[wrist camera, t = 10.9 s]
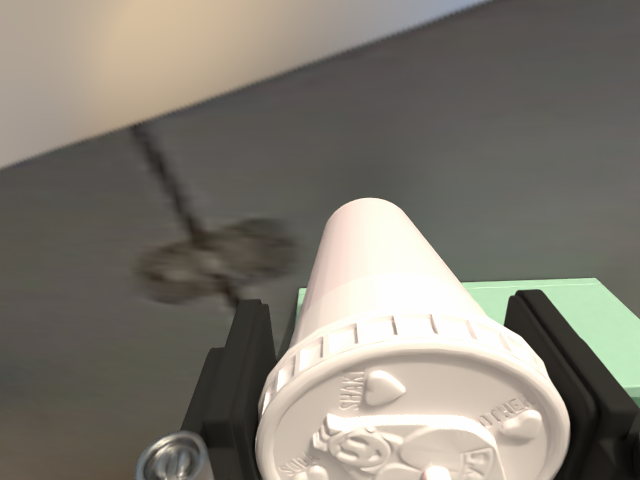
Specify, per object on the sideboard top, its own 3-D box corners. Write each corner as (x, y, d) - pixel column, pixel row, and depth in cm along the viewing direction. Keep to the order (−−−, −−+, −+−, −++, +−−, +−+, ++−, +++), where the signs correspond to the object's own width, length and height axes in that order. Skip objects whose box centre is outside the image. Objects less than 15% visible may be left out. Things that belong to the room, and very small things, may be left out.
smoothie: (396, 323, 19) (531, 900, 6) (265, 271, 18) (120, 855, 5) (478, 205, 16) (990, 810, 4) (331, 134, 15) (352, 674, 3)
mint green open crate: (315, 465, 28) (311, 591, 22) (298, 287, 22) (286, 395, 15) (540, 461, 28) (602, 589, 22) (595, 277, 21) (710, 384, 15)
